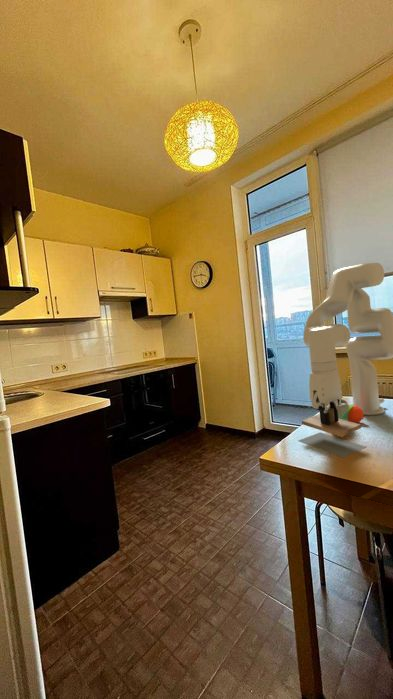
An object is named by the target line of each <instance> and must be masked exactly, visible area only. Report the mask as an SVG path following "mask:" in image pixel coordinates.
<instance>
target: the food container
mask: <svg viewBox="0 0 393 699" xmlns="http://www.w3.org/2000/svg"><path fill="white" fill-rule="evenodd" d="M349 405H350V404H349V402H348V401H347V400H345V399H343V398H342V399H341V400H340V402H339V404H338V406H339V408H338V409H337V410H338V419H342V420H346V421H348V409H349ZM328 407H329V405H327V408H328ZM329 408H330V407H329Z"/></svg>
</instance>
